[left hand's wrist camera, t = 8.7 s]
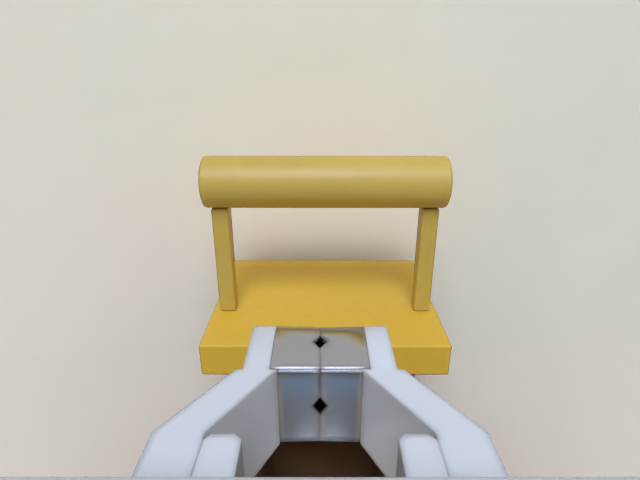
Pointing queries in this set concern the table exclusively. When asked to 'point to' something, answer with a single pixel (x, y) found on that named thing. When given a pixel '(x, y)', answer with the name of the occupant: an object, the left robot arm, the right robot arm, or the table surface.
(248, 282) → the drawer
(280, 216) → the table surface
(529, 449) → the table surface
